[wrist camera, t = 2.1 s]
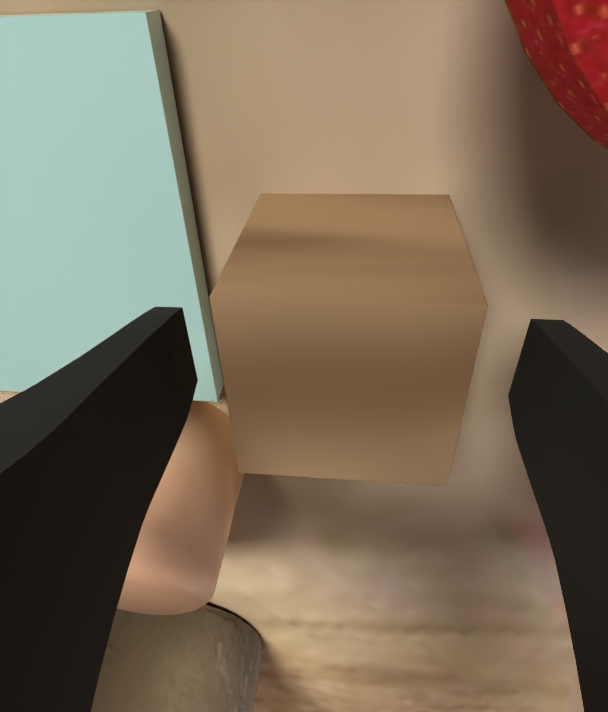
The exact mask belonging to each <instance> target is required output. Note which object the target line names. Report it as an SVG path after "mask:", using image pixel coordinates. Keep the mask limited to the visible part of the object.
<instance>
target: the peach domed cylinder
mask: <svg viewBox="0 0 608 712" xmlns="http://www.w3.org/2000/svg"><path fill="white" fill-rule="evenodd" d="M243 476H244V473H239V469H238V463H237V458H236V452H235V446H234V440H233V434H232V428H231V422H230V417H229V416H228V415H226V414H225V413H224V412H223V411H221V410H219V409H218V408H216V407H215V406H213V405H211V404H209V403H207V402H205V401H194V400H193V401H192V405H191V408H190V411H189V415H188V418H187V421H186V423H185V426H184V428H183V430H182V433H181V435H180V437H179V440H178V442H177V444H176V447H175V449H174V451H173V454H172V456H171V458H170V460H169V463H168V465H167V467H166V469H165V472H164V474H163V476H162V478H161V481H160V483H159V485H158V488H157V490H156V492H155V494H154V497H153V499H152V501H151V503H150V506H149V508H148V511H147V514H146V516H145V519H144V521H143V524H142V527H141V530H140V533H139V536H138V540H137V543H136V546H135V549H134V552H133V555H132V559H131V562H130V565H129V568H128V572H127V575H126V578H125V582H124V585H123V589H122V592H121V596H120V599H119V602H118V606H117V609H121V610H125V611H129V612H135V613H141V614H149V615H175V614H182V613H187V612H191V611H194V610H196V609H199V608H200V607H202V606H204V605H205V604H206V603H208V602H209V601H210V599H211V598H212V597H213V594H214V592H215V588H216V584H217V580H218V576H219V572H220V568H221V564H222V560H223V556H224V552H225V548H226V544H227V540H228V536H229V532H230V528H231V524H232V520H233V516H234V512H235V508H236V504H237V500H238V496H239V492H240V488H241V484H242V480H243Z"/></svg>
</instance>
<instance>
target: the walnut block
mask: <svg viewBox="0 0 608 712" xmlns="http://www.w3.org/2000/svg"><path fill="white" fill-rule="evenodd" d="M209 298H210V304H211V310H212V316H213V322H214V328H215V334H216V339H217V345H218V351H219V357H220V363H221V369H222V375H223V381H224V387H225V393H226V399H227V404H228V410H229V416H230V422H231V428H232V434H233V440H234V446H235V452H236V458H237V463H238V469H239V473H251V474H267V475H282V476H297V477H312V478H328V479H343V480H358V481H374V482H389V483H404V484H419V485H435V486H447V483H448V478H449V474H450V469H451V465H452V460H453V456H454V452H455V447H456V443H457V438H458V434H459V430H460V425H461V421H462V416H463V412H464V407H465V403H466V399H467V394H468V390H469V385H470V381H471V377H472V372H473V368H474V363H475V359H476V354H477V350H478V346H479V341H480V337H481V332H482V328H483V324H484V319H485V315H486V310H487V306H488V304H487V302H486V299H485V296H484V293H483V290H482V287H481V285H480V282H479V279H478V276H477V273H476V270H475V268H474V265H473V262H472V259H471V256H470V253H469V251H468V248H467V245H466V242H465V239H464V236H463V234H462V231H461V228H460V225H459V222H458V219H457V217H456V214H455V211H454V208H453V205H452V202H451V200H450V197H449V195H391V194H260V196H259V198H258V200H257V202H256V204H255V206H254V208H253V211H252V213H251V215H250V217H249V219H248V221H247V223H246V225H245V227H244V229H243V231H242V233H241V235H240V237H239V239H238V241H237V243H236V245H235V247H234V249H233V251H232V253H231V255H230V257H229V259H228V261H227V263H226V265H225V267H224V269H223V271H222V273H221V275H220V277H219V279H218V281H217V283H216V285H215V287H214V289H213V291H212V293H211V295H210V297H209Z"/></svg>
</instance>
